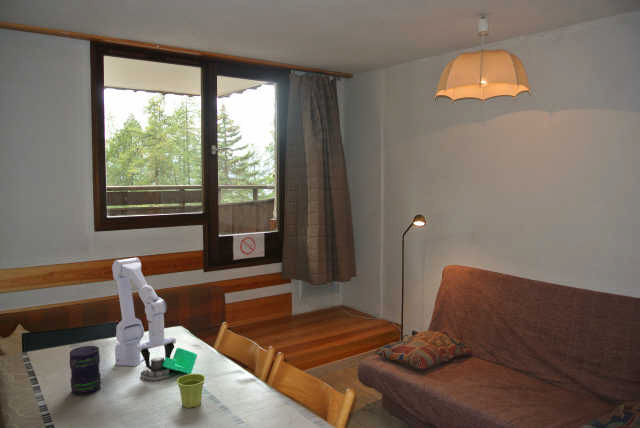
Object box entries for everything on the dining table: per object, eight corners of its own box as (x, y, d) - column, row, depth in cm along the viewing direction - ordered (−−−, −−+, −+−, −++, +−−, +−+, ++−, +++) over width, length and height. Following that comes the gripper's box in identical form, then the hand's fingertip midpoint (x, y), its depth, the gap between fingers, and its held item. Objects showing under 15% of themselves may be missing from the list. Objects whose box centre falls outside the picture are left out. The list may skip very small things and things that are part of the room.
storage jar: (70, 398, 167) (68, 357, 166) (71, 388, 176) (69, 348, 175) (101, 392, 172) (100, 352, 170) (100, 382, 180) (98, 344, 179)
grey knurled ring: (134, 380, 181) (133, 373, 181) (150, 367, 194) (149, 360, 194) (166, 381, 180) (166, 374, 180) (180, 368, 193) (180, 361, 193)
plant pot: (211, 399, 165) (210, 375, 164) (195, 412, 156) (194, 386, 155) (188, 396, 168) (187, 372, 167) (171, 408, 159) (170, 383, 158)
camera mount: (199, 354, 189) (179, 349, 182) (193, 374, 187) (172, 370, 180) (181, 348, 197) (161, 343, 189) (175, 367, 195) (154, 362, 187)
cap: (149, 374, 185) (148, 361, 184) (154, 369, 190) (154, 356, 189) (161, 374, 184) (160, 361, 184) (166, 369, 189) (166, 356, 189)
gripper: (141, 337, 178) (142, 372, 179) (178, 329, 187) (179, 363, 188) (135, 332, 184) (136, 367, 185) (171, 325, 193) (172, 358, 194)
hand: (157, 364), depth 187 cm, fingers open, 7 cm apart
